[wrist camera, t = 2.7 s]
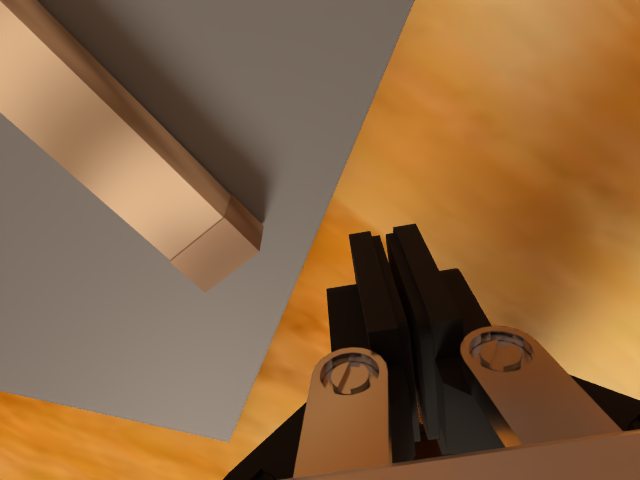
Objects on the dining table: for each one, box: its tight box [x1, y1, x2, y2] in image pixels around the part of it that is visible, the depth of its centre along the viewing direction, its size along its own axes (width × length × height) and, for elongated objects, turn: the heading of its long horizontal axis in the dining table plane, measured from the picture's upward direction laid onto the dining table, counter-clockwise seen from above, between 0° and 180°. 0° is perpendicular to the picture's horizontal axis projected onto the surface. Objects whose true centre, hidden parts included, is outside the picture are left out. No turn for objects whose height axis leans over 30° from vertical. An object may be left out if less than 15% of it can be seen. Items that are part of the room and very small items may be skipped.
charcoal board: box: [0, 0, 415, 442], centre depth 21 cm, size 25×21×1 cm
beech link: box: [0, 0, 264, 293], centre depth 17 cm, size 18×4×2 cm, turn 39°
